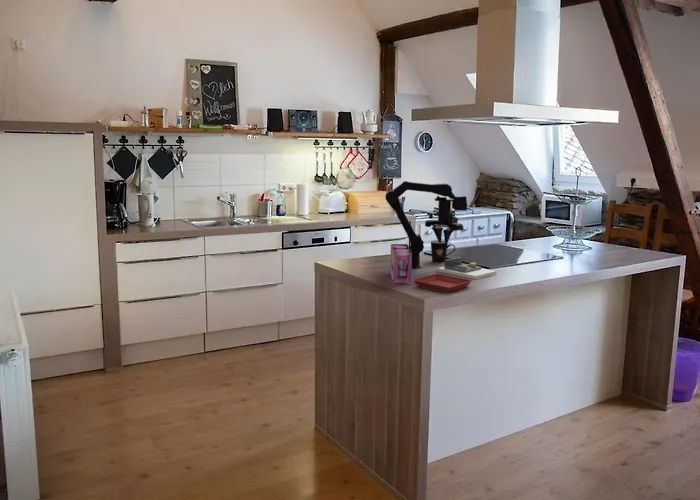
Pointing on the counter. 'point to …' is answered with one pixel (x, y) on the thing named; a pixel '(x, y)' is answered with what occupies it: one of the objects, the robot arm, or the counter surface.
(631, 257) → the counter surface
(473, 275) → the board
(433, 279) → the plant saucer
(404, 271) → the gum box
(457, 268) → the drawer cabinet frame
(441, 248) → the coffee mug
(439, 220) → the robot arm
